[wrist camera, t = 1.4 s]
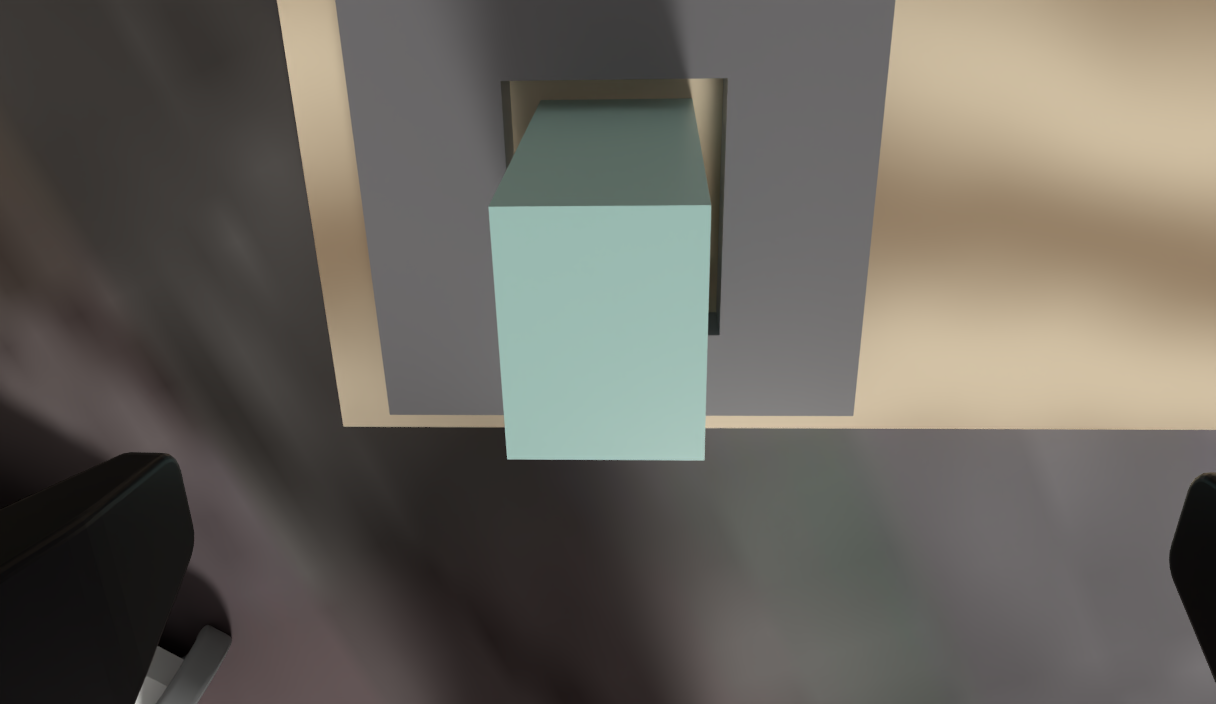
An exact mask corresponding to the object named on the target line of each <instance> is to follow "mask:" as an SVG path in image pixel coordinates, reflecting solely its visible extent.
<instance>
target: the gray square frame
mask: <svg viewBox="0 0 1216 704" xmlns="http://www.w3.org/2000/svg"><path fill="white" fill-rule="evenodd" d="M335 3H336V10H337V18H338V26H339V33H340V41H341V48H342V56H343V63H344V71H345V79H346V86H347V94H348V101H349V109H350V117H351V124H352V132H353V139H354V147H355V155H356V162H357V170H358V177H359V185H360V192H361V200H362V208H363V215H364V223H365V230H366V238H367V246H368V253H369V261H370V268H371V276H372V283H373V291H374V299H375V306H376V314H377V321H378V329H379V337H380V344H381V352H382V359H383V367H384V375H385V382H386V390H387V397H388V405H389V412H390V415H504V410H503V396H502V383H501V369H500V356H499V342H498V329H497V316H496V302H495V289H494V275H493V262H492V248H491V235H490V222H489V208H488V206H489V204H490V202H491V200H492V198H493V196H494V194H495V192H496V190H497V188H498V186H499V184H500V182H501V180H502V178H503V176H504V174H505V172H506V170H507V168H508V166H509V164H510V162H511V160H512V158H513V156H514V145H513V129H512V112H511V96H510V81H541V80H624V79H706V78H723V106H722V138H721V171H720V203H719V236H718V268H717V301H716V312H708V347H707V384H706V416H853V414H854V405H855V395H856V385H857V375H858V365H859V355H860V345H861V336H862V326H863V316H864V306H865V296H866V286H867V276H868V267H869V257H870V247H871V237H872V227H873V217H874V207H875V197H876V188H877V178H878V168H879V158H880V148H881V138H882V128H883V119H884V109H885V99H886V89H887V79H888V69H889V59H890V50H891V40H892V30H893V20H894V10H895V0H335Z"/></svg>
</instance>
